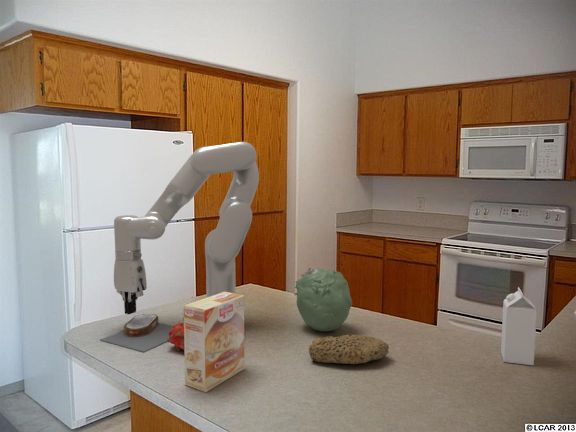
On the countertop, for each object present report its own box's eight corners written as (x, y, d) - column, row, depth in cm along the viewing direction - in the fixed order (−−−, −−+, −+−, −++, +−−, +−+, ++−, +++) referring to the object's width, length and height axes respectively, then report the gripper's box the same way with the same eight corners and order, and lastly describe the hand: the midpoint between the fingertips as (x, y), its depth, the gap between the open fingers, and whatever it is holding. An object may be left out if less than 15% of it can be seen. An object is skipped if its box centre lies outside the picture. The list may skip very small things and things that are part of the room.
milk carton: (529, 355, 125) (532, 288, 123) (533, 366, 118) (537, 294, 116) (500, 352, 127) (504, 285, 125) (503, 362, 120) (507, 292, 118)
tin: (119, 337, 138) (147, 339, 138) (119, 326, 137) (147, 329, 137) (136, 320, 153) (161, 322, 153) (137, 311, 152) (162, 313, 152)
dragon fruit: (168, 350, 132) (204, 361, 129) (156, 342, 125) (194, 354, 122) (179, 322, 136) (215, 332, 133) (168, 313, 129) (206, 324, 125)
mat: (191, 330, 144) (191, 329, 144) (143, 352, 127) (143, 351, 127) (150, 321, 153) (150, 320, 153) (100, 340, 136) (99, 339, 136)
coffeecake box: (206, 393, 104) (204, 309, 102) (183, 385, 108) (181, 304, 106) (246, 369, 116) (245, 294, 115) (224, 362, 120) (223, 290, 118)
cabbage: (343, 343, 134) (344, 276, 132) (285, 333, 142) (285, 270, 140) (359, 326, 148) (360, 266, 146) (305, 318, 156) (306, 261, 154)
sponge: (309, 371, 118) (386, 365, 112) (305, 340, 119) (380, 333, 113) (322, 361, 130) (392, 355, 124) (318, 333, 132) (387, 326, 125)
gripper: (154, 255, 141) (156, 313, 143) (121, 251, 148) (123, 306, 150) (135, 259, 134) (138, 320, 136) (101, 255, 142) (104, 312, 143)
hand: (130, 312), depth 143 cm, fingers closed
